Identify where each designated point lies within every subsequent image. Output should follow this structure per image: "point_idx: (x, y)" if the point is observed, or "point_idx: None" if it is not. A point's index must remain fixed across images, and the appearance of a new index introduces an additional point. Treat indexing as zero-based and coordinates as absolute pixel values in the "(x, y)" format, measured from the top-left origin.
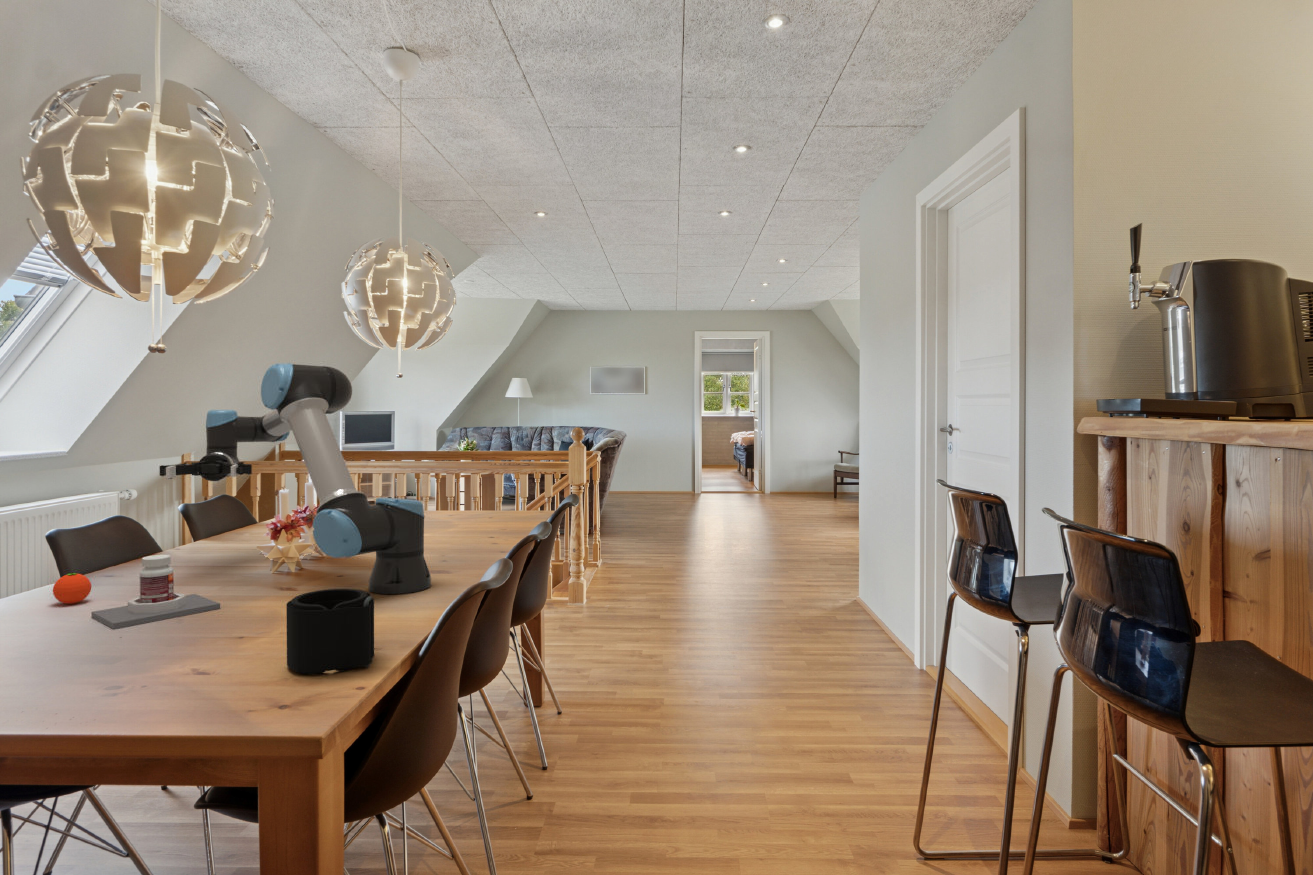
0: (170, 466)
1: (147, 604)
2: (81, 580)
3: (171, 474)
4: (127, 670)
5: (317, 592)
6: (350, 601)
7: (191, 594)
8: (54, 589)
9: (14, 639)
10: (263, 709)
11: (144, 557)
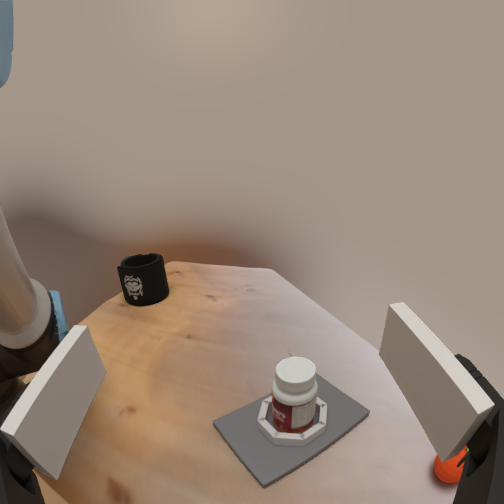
0: (434, 343)
1: None
2: None
3: (398, 365)
4: (253, 304)
5: (142, 265)
6: (135, 255)
7: (268, 482)
8: None
9: None
10: (184, 271)
11: (313, 368)
